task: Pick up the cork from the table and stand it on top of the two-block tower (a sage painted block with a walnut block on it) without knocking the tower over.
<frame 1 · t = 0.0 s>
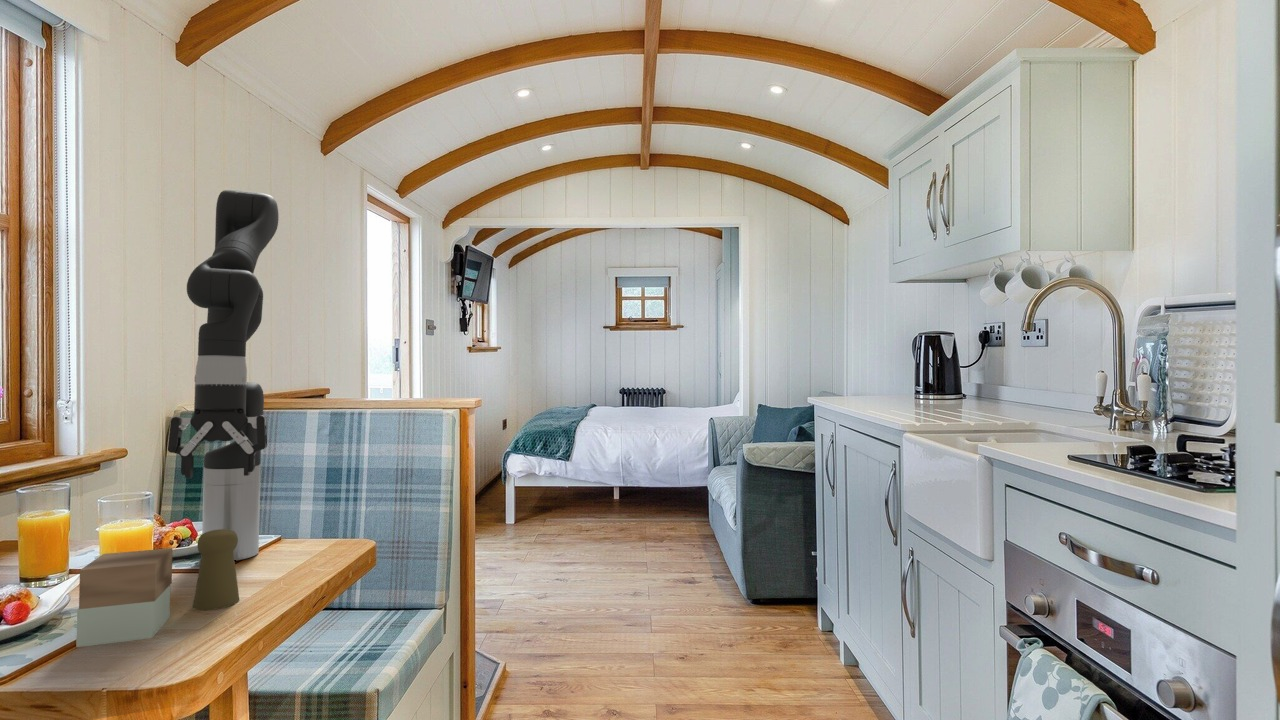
hand: (218, 476, 111), 17 cm above the table, tool pointing down, fingers open, 8 cm apart
tower base block: (125, 632, 88), on the table, touching tower top block
tower top block: (128, 595, 88), point 5 cm above the table, touching tower base block
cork: (216, 604, 98), on the table
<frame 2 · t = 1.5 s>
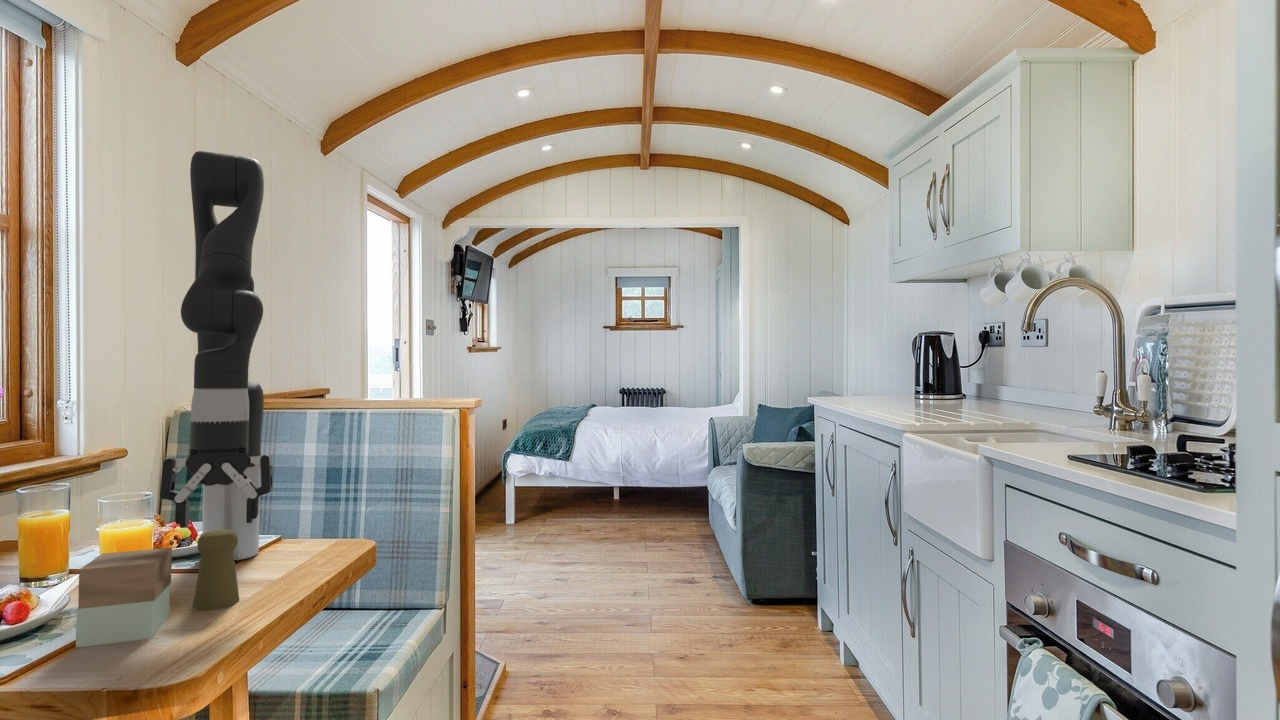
hand: (217, 524, 98), 12 cm above the table, tool pointing down, fingers open, 8 cm apart
nothing on the table moved.
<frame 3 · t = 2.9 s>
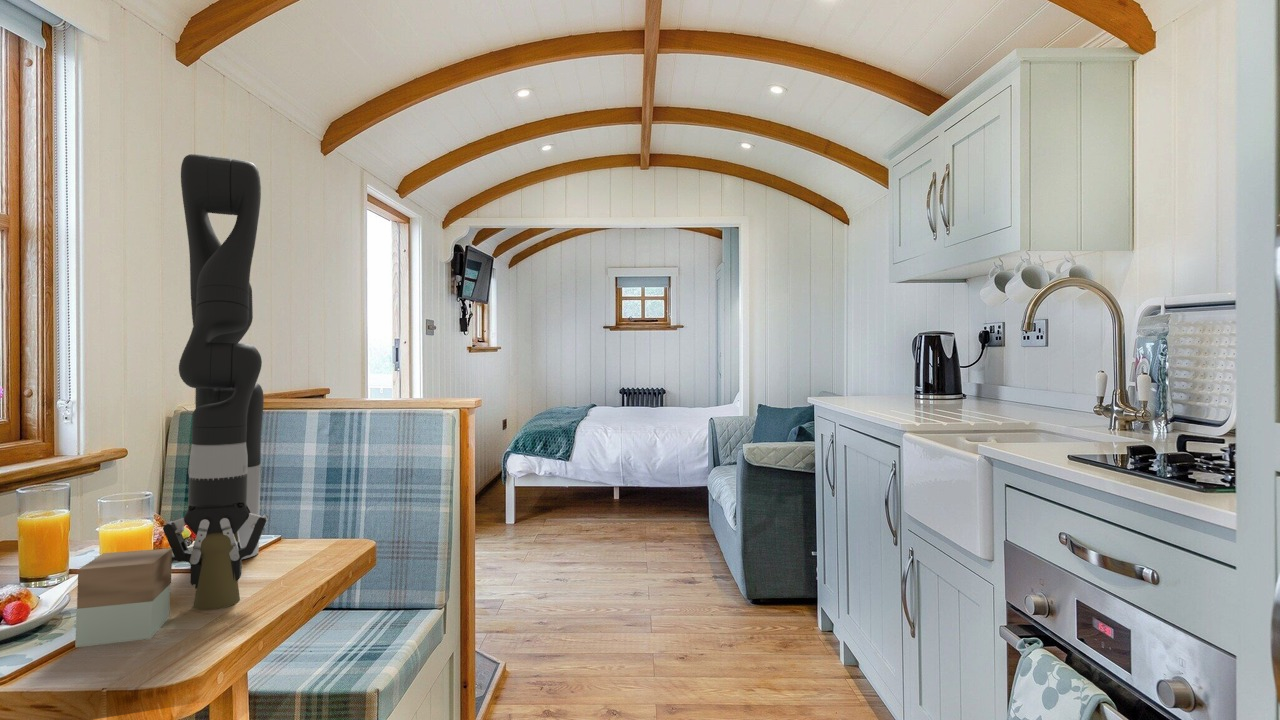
hand: (215, 584, 98), 3 cm above the table, tool pointing down, fingers closed on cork, 3 cm apart
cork: (216, 604, 98), on the table, touching gripper
everything else where it was.
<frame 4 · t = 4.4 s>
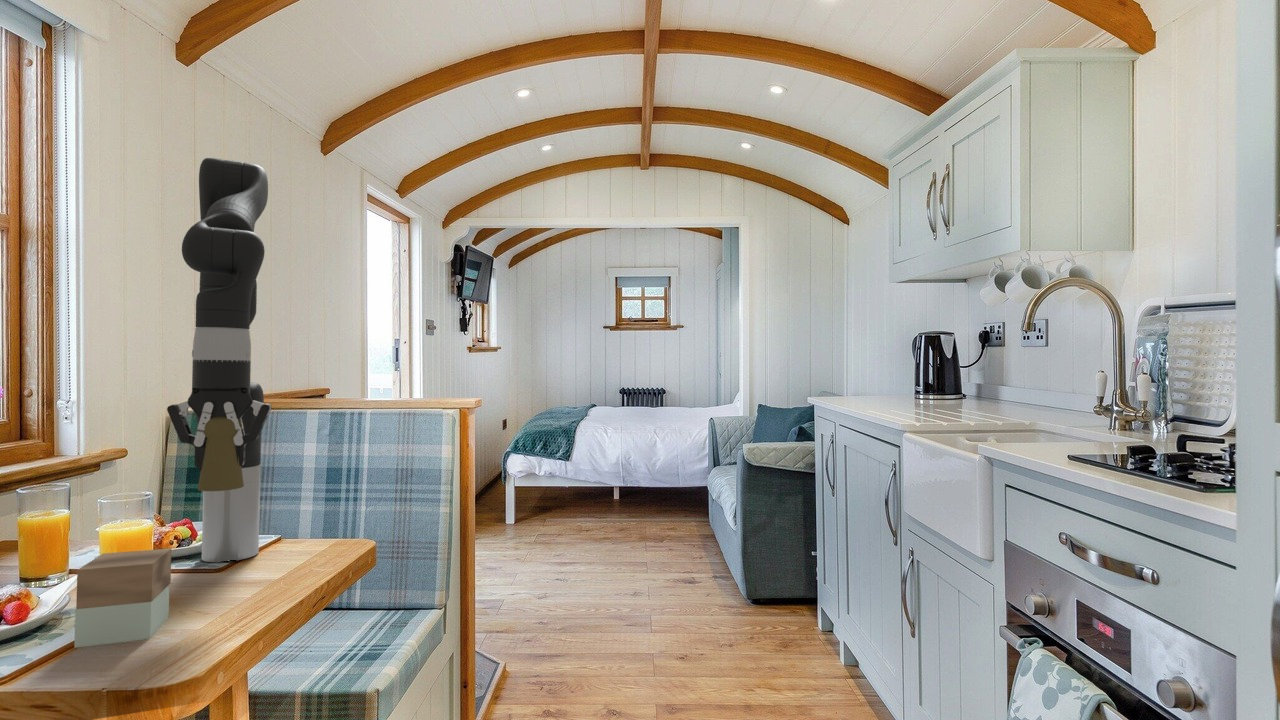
hand: (219, 469, 99), 20 cm above the table, tool pointing down, fingers closed on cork, 3 cm apart
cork: (221, 488, 99), point 17 cm above the table, touching gripper
everything else where it was.
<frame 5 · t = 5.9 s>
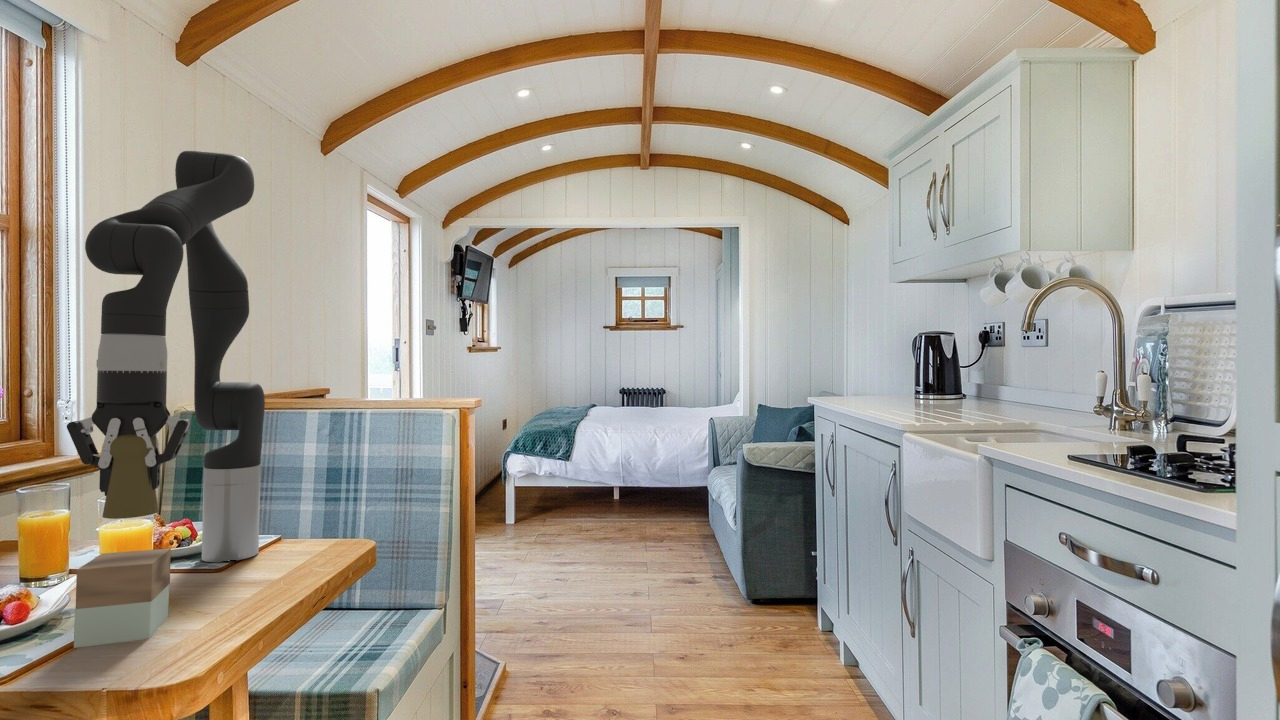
hand: (129, 493, 88), 19 cm above the table, tool pointing down, fingers closed on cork, 3 cm apart
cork: (130, 515, 88), point 16 cm above the table, touching gripper
everything else where it was.
when the fingers open (14 cm above the table, at t = 7.0 s): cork drops 1 cm, resting on tower top block.
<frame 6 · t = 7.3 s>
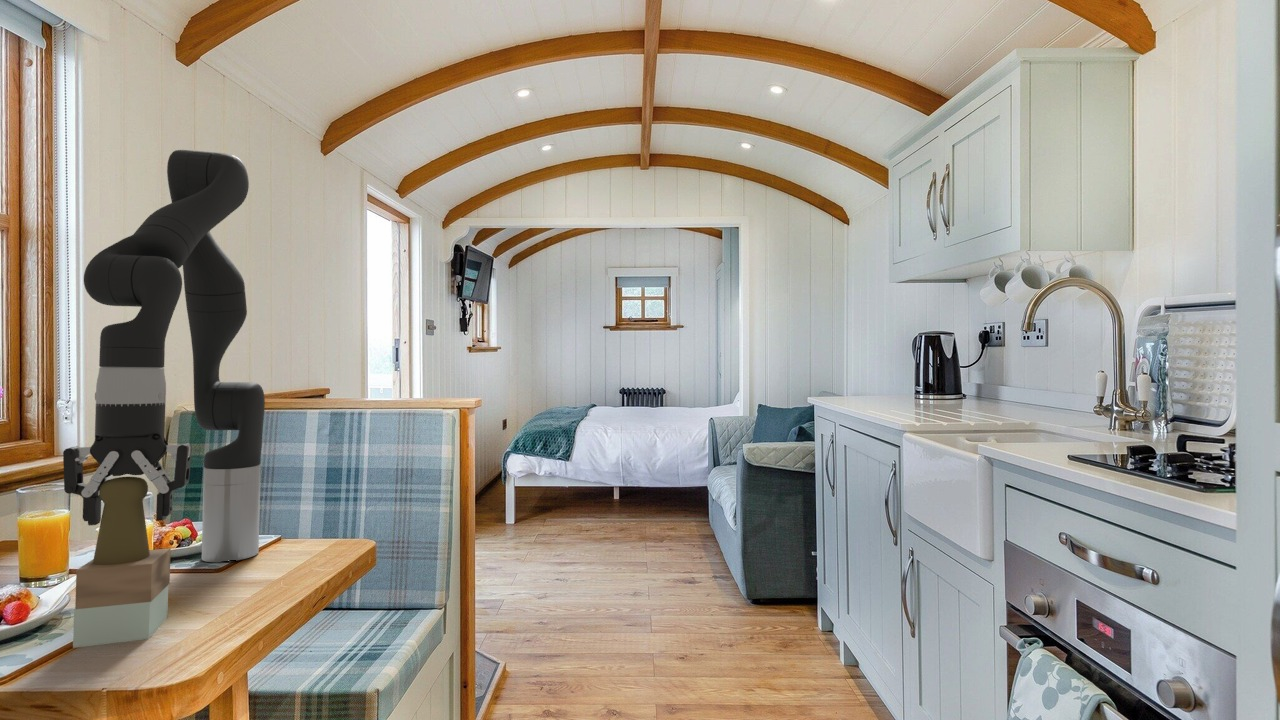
hand: (128, 521, 88), 15 cm above the table, tool pointing down, fingers open, 7 cm apart
tower top block: (125, 595, 88), point 5 cm above the table, touching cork, tower base block
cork: (121, 560, 88), point 10 cm above the table, touching tower top block
everything else where it was.
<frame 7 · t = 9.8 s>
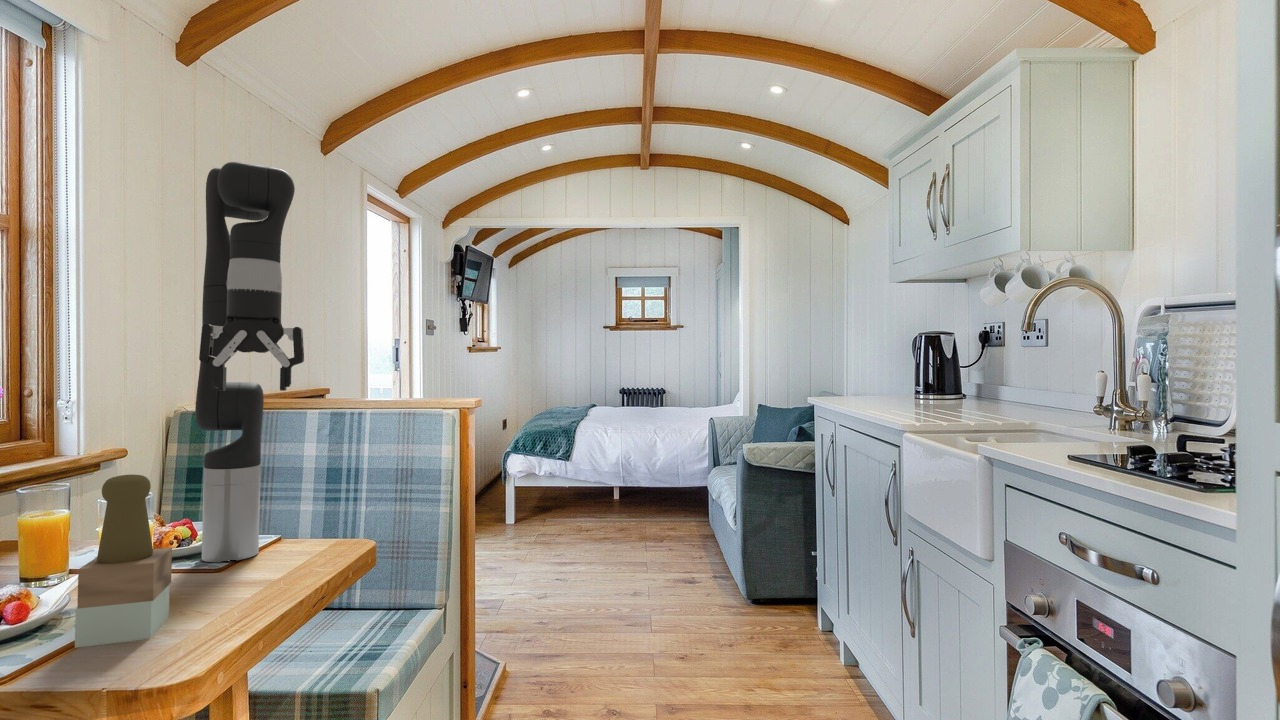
hand: (252, 390, 103), 32 cm above the table, tool pointing down, fingers open, 8 cm apart
nothing on the table moved.
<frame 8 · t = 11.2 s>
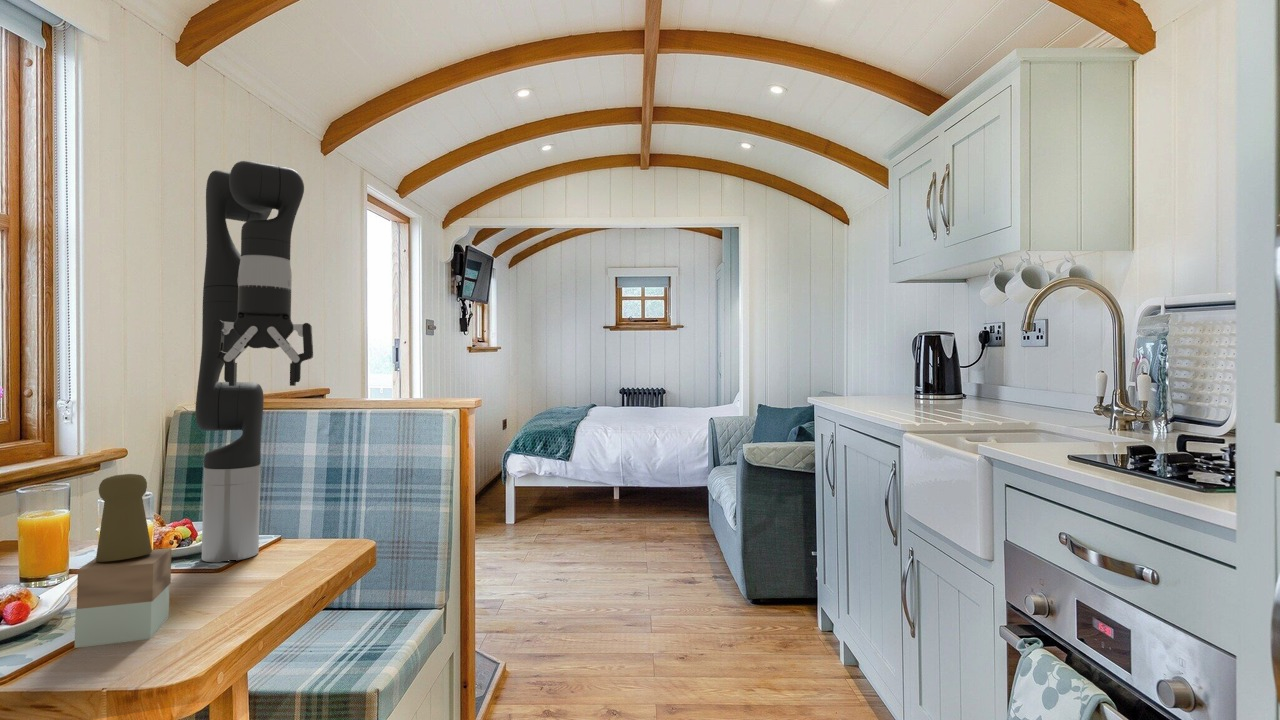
hand: (263, 385, 105), 33 cm above the table, tool pointing down, fingers open, 8 cm apart
tower top block: (126, 595, 88), point 5 cm above the table, touching tower base block
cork: (124, 557, 88), point 10 cm above the table
everything else where it was.
at the end: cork inside the target area on the tower base block (0.5 cm from its centre), point 10.1 cm above the tower base block's base; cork tilted 6°; tower top block 0.1 cm off-centre on the tower base block, point 5.0 cm above the tower base block's base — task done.
